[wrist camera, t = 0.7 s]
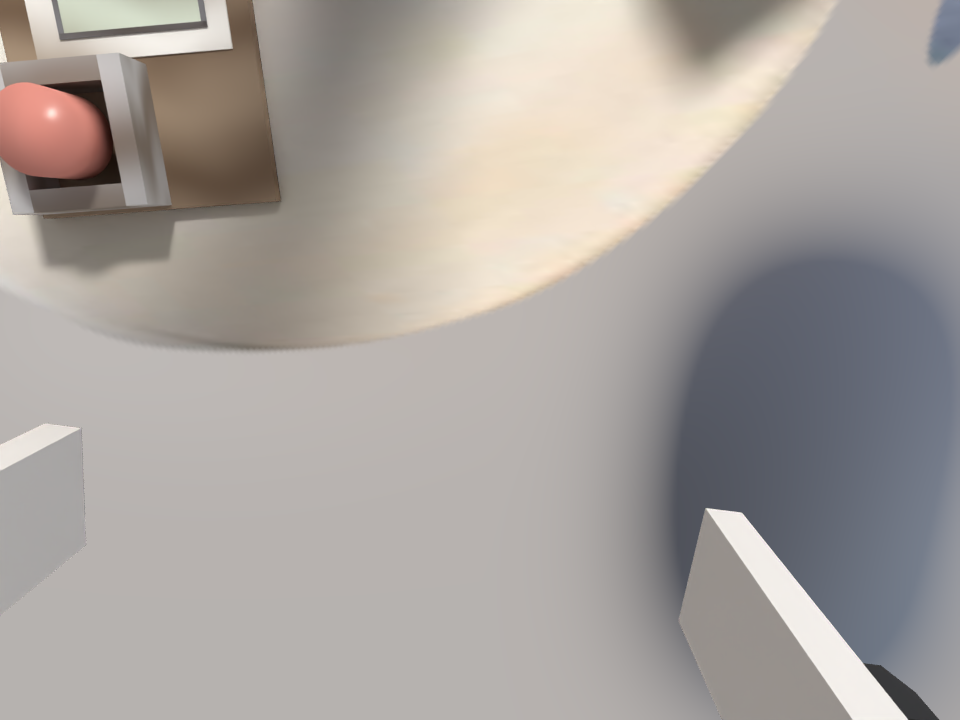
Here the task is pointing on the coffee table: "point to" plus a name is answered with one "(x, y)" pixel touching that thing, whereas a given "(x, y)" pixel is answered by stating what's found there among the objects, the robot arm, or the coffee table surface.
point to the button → (52, 133)
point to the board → (148, 101)
